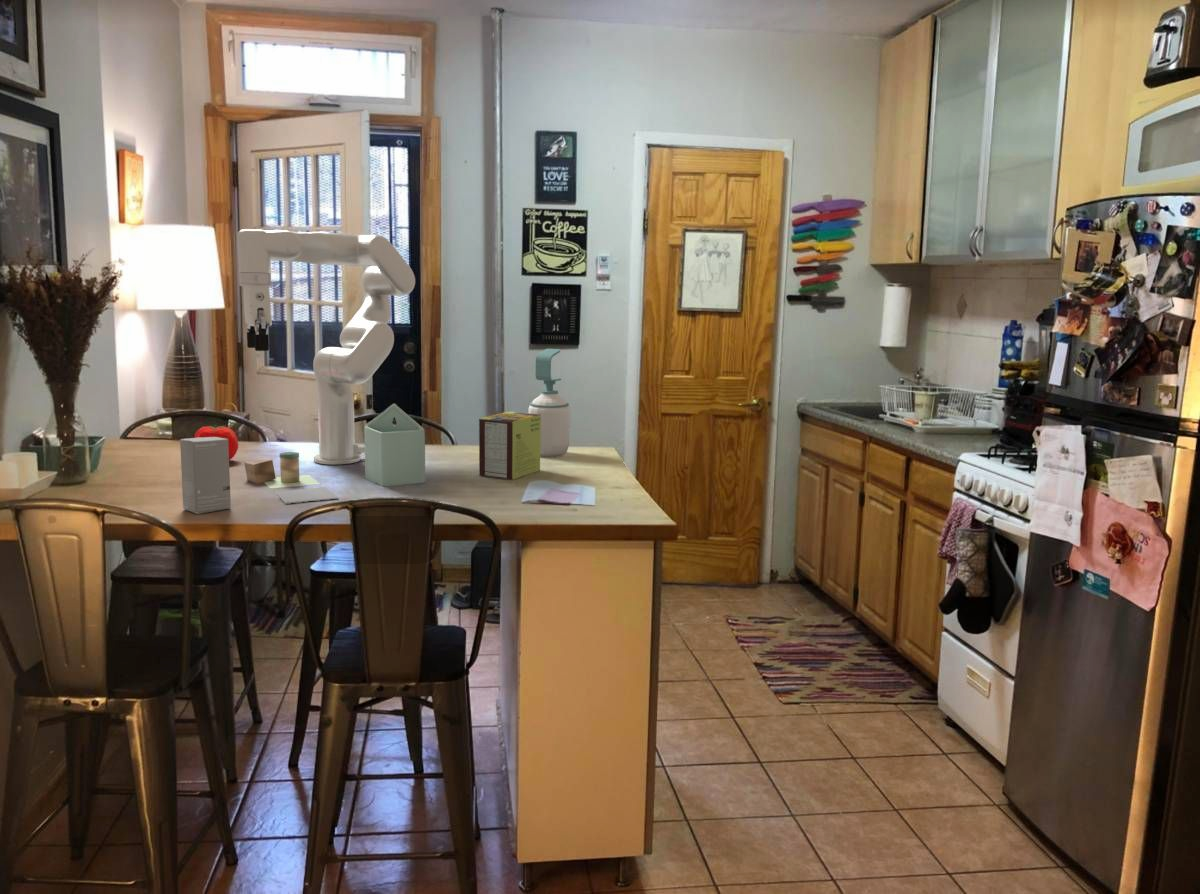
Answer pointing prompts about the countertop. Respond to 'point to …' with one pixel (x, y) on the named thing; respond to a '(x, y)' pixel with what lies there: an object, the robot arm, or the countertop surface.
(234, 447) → the tomato
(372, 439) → the planter
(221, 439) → the skincare box
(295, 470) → the green lidded jar
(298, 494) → the grey square tile
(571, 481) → the countertop surface
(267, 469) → the walnut block
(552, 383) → the soap bottle
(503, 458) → the protein box
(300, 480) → the mat
